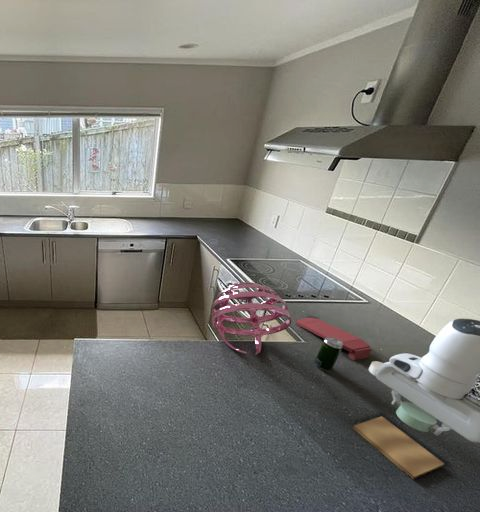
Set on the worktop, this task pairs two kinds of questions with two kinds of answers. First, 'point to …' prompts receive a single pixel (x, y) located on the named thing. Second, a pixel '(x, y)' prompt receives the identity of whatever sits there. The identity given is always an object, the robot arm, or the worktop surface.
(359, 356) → the red long block
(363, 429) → the oak board
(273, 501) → the worktop surface
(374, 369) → the white round disc
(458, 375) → the robot arm
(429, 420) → the mint green round lid
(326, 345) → the beer can
